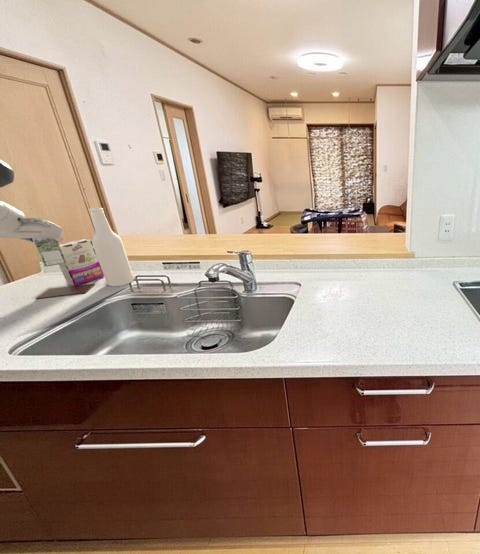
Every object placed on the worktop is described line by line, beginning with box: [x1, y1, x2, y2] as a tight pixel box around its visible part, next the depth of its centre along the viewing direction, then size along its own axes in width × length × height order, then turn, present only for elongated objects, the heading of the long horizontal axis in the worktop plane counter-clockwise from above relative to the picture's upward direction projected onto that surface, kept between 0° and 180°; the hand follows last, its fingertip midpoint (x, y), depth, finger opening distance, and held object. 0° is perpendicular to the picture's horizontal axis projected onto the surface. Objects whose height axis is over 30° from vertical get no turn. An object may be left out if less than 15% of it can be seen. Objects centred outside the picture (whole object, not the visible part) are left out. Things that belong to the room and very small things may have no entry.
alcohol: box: [88, 207, 135, 287], centre depth 115 cm, size 9×9×30 cm
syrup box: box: [32, 238, 66, 267], centre depth 105 cm, size 6×6×14 cm
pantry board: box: [35, 282, 96, 300], centre depth 112 cm, size 14×9×1 cm, turn 112°
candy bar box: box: [58, 238, 105, 286], centre depth 119 cm, size 11×5×16 cm, turn 163°
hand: (47, 240), depth 105 cm, fingers closed on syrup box, 8 cm apart
